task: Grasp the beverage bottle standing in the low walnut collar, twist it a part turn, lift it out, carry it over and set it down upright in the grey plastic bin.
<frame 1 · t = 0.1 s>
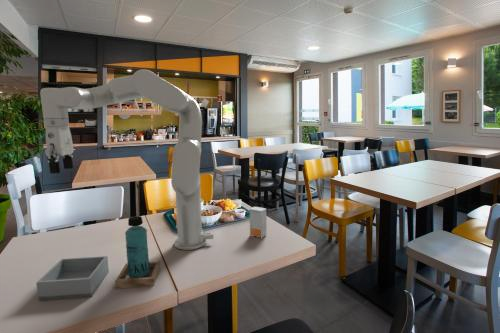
hand: (62, 170, 110), 31 cm above the table, tool pointing down, fingers open, 9 cm apart
collar: (139, 277, 95), on the table
bin: (76, 285, 91), on the table
beverage bottle: (139, 278, 95), resting in collar
skincare box: (258, 236, 127), on the table
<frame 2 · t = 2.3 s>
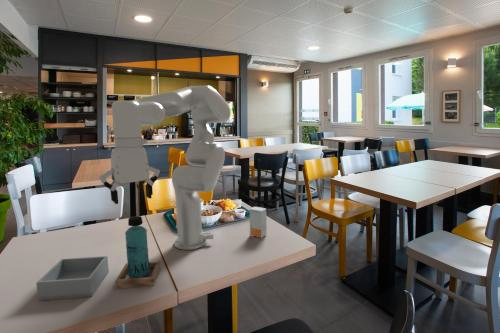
hand: (132, 200, 91), 25 cm above the table, tool pointing down, fingers open, 9 cm apart
nothing on the table moved.
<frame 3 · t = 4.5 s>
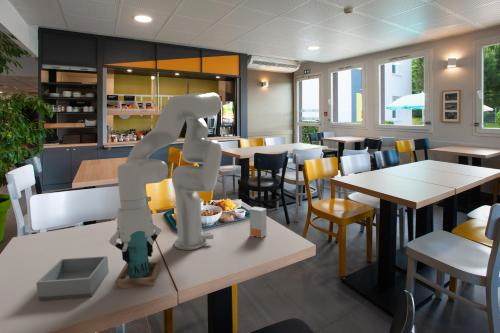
hand: (138, 258, 94), 7 cm above the table, tool pointing down, fingers closed on beverage bottle, 6 cm apart
beverage bottle: (139, 278, 95), resting in collar, touching gripper
everything else where it was.
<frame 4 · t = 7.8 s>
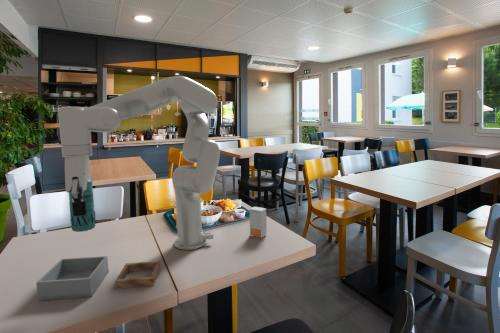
hand: (82, 211, 88), 23 cm above the table, tool pointing down, fingers closed on beverage bottle, 6 cm apart
beverage bottle: (84, 233, 89), point 16 cm above the table, touching gripper
everything else where it was.
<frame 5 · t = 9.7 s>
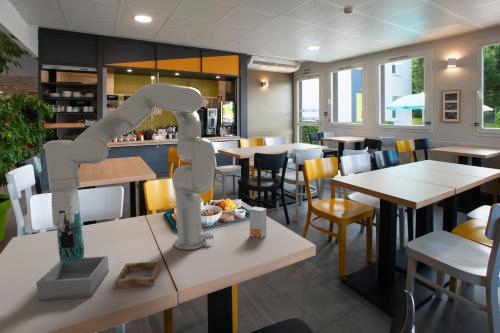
hand: (71, 242, 89), 14 cm above the table, tool pointing down, fingers closed on beverage bottle, 6 cm apart
beverage bottle: (73, 263, 90), point 7 cm above the table, touching gripper
everything else where it was.
when the fingers open (9 cm above the table, at t = 11.1 s): beverage bottle drops 1 cm, resting on bin.
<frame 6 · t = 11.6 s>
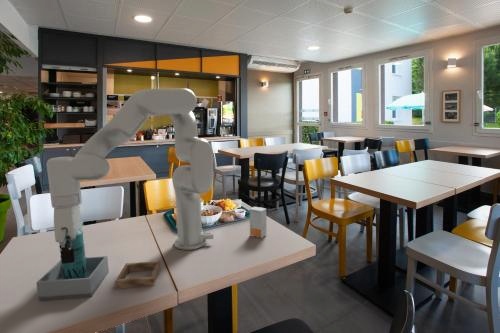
hand: (73, 255, 90), 10 cm above the table, tool pointing down, fingers open, 9 cm apart
beverage bottle: (76, 283, 91), point 1 cm above the table, touching bin
everything else where it was.
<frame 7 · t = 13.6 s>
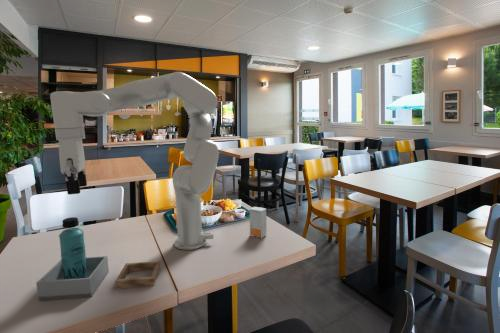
hand: (77, 189, 92), 28 cm above the table, tool pointing down, fingers open, 9 cm apart
nothing on the table moved.
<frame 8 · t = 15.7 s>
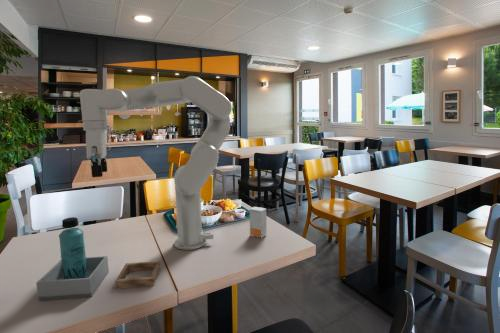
hand: (100, 174, 107), 30 cm above the table, tool pointing down, fingers open, 9 cm apart
nothing on the table moved.
at the end: beverage bottle inside the target area on the bin (0.5 cm from its centre), point 1.0 cm above the bin's base; beverage bottle tilted 1°; the gripper is holding nothing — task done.
